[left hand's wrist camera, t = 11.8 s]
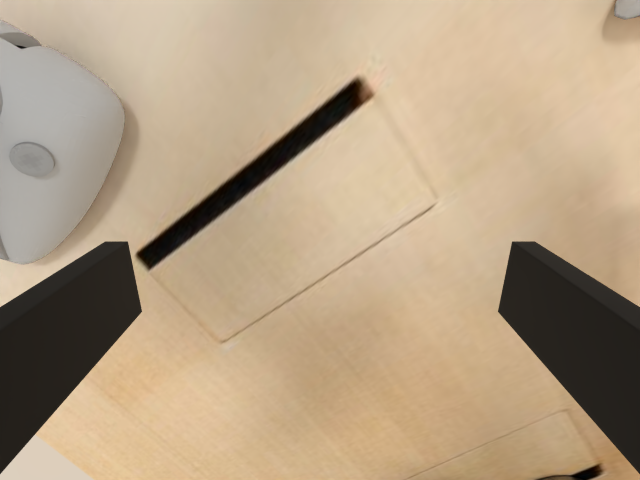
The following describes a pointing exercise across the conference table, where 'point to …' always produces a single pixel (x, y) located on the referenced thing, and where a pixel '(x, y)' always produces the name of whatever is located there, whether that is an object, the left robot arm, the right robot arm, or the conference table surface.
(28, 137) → the projector
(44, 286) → the left robot arm
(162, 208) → the conference table surface
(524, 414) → the conference table surface
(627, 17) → the fish
